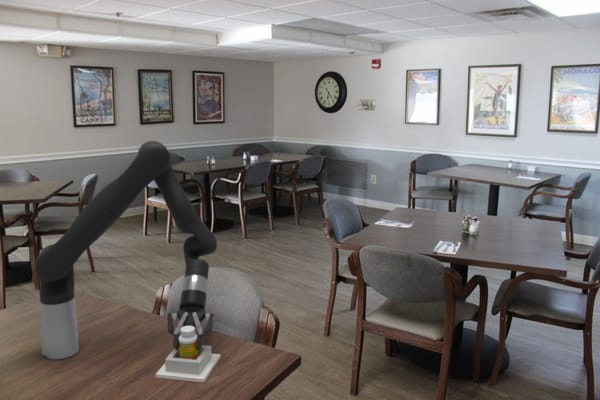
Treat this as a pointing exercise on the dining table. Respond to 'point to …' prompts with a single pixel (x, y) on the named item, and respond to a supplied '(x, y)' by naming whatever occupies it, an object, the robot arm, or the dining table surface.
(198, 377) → the socket block
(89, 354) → the dining table surface
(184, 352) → the supplement bottle
